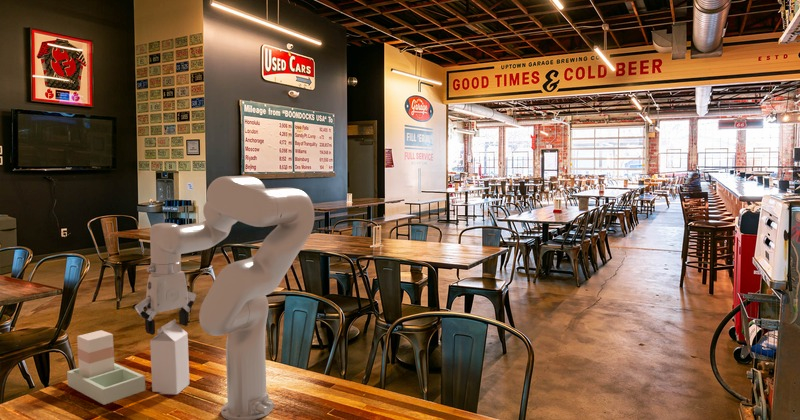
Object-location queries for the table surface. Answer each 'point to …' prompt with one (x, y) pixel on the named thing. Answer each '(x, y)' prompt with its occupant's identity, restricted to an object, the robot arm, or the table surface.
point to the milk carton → (169, 359)
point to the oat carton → (95, 353)
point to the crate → (108, 384)
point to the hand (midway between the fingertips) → (167, 329)
